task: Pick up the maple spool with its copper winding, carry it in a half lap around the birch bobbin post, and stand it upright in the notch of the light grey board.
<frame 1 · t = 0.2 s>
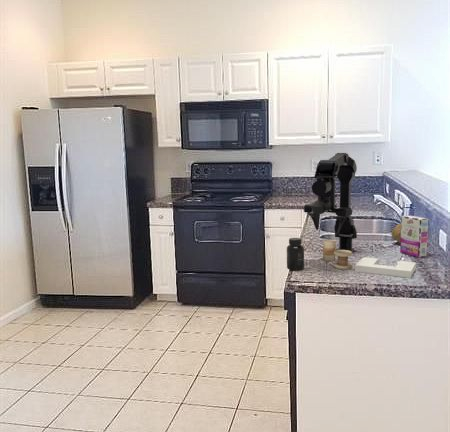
hand: (327, 231, 190), 14 cm above the worktop, tool pointing down, fingers open, 9 cm apart
bobbin: (342, 266, 190), on the worktop
notched board: (385, 270, 184), on the worktop
supplement bottle: (295, 269, 189), on the worktop
candy bar box: (413, 255, 206), on the worktop
copper spool: (329, 259, 201), on the worktop
natural sponge: (401, 244, 225), on the worktop
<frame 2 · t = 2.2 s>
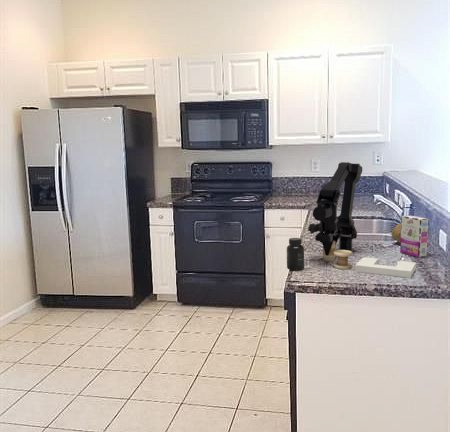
hand: (329, 253, 200), 3 cm above the worktop, tool pointing down, fingers closed on copper spool, 5 cm apart
copper spool: (329, 259, 201), on the worktop, touching gripper
everything else where it was.
when the fingers open (4 cm above the worktop, at t = 8.3 s): copper spool drops 2 cm, on the worktop.
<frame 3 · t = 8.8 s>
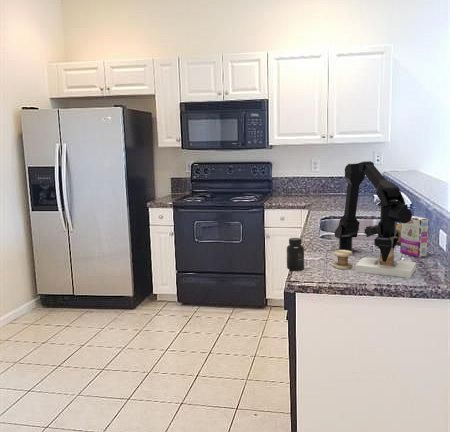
hand: (386, 258, 185), 4 cm above the worktop, tool pointing down, fingers open, 9 cm apart
copper spool: (386, 268, 186), on the worktop
everything else where it was.
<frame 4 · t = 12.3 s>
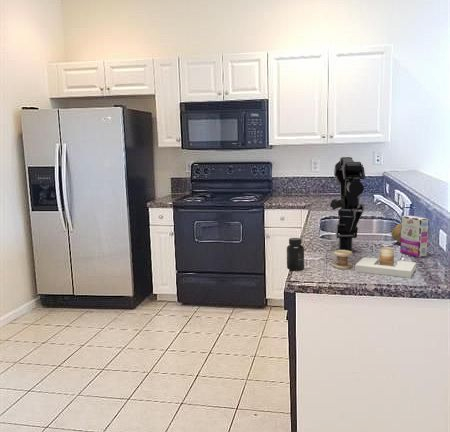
hand: (351, 230, 198), 13 cm above the worktop, tool pointing down, fingers open, 9 cm apart
nothing on the worktop moved.
at the end: copper spool 0.0 cm from the target spot on the notched board, point 0.0 cm above the notched board's base; copper spool tilted 0°; the gripper is holding nothing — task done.
